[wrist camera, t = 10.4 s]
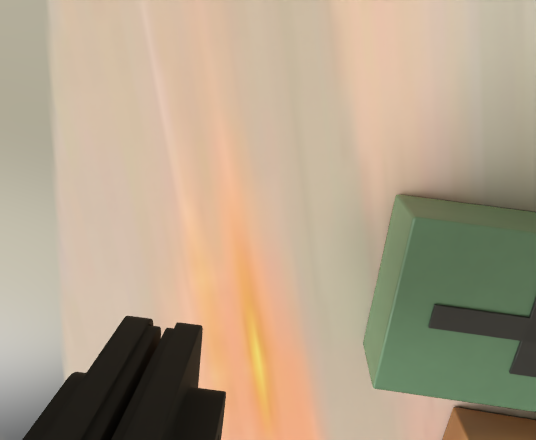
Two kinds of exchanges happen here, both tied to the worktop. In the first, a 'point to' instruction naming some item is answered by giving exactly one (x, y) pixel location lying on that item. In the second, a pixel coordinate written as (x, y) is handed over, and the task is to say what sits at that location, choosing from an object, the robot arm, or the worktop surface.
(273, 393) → the worktop surface
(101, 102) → the worktop surface
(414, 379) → the sage letter tile
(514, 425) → the oak letter tile
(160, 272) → the worktop surface
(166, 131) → the worktop surface
